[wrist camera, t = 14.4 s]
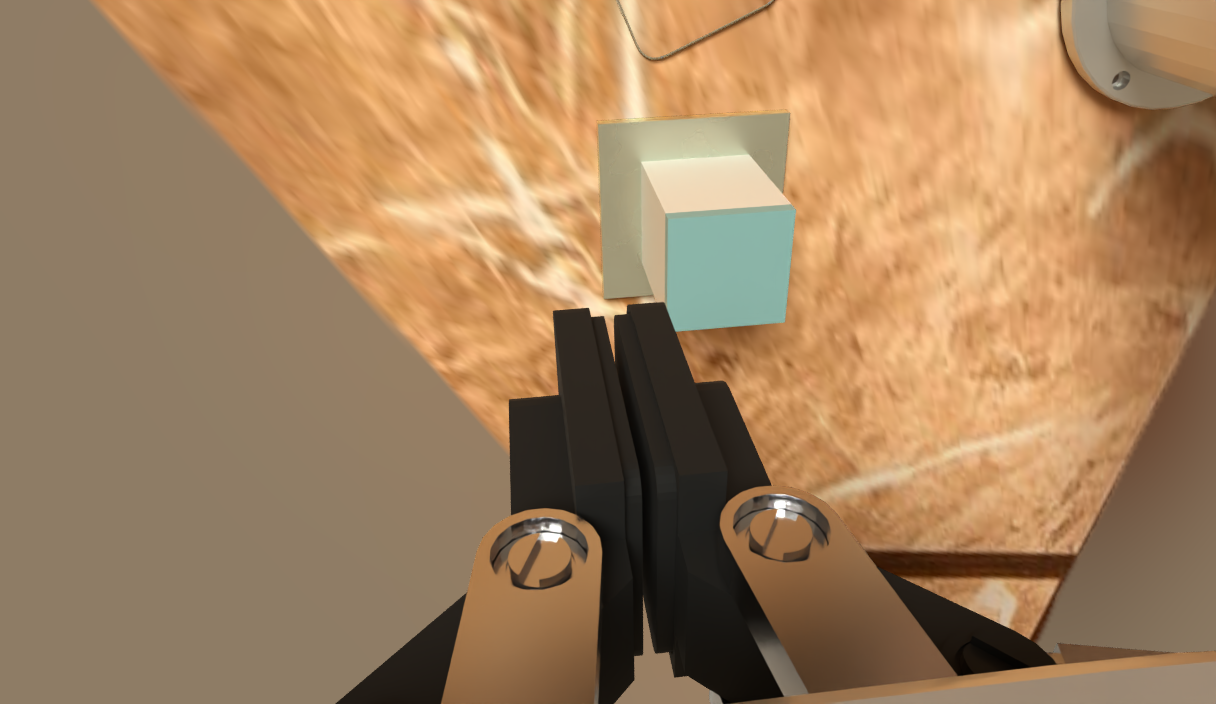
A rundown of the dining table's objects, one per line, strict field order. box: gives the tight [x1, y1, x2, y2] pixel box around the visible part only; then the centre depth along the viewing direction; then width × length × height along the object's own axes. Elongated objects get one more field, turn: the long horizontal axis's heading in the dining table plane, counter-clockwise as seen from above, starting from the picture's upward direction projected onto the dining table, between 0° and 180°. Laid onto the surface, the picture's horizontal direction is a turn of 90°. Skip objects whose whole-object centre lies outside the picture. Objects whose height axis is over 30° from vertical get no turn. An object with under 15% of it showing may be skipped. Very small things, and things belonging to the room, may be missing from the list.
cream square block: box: [597, 109, 790, 299], centre depth 37 cm, size 9×9×6 cm
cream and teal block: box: [641, 155, 796, 332], centre depth 37 cm, size 5×5×7 cm
